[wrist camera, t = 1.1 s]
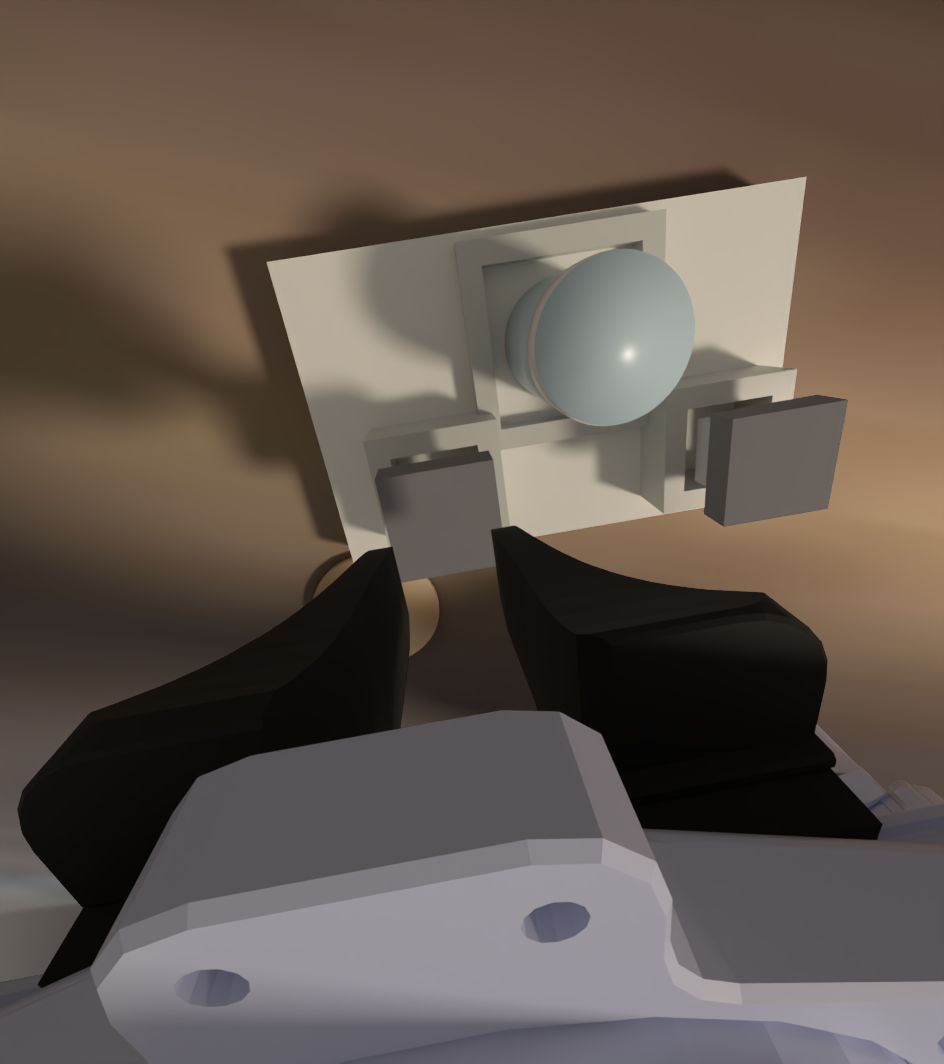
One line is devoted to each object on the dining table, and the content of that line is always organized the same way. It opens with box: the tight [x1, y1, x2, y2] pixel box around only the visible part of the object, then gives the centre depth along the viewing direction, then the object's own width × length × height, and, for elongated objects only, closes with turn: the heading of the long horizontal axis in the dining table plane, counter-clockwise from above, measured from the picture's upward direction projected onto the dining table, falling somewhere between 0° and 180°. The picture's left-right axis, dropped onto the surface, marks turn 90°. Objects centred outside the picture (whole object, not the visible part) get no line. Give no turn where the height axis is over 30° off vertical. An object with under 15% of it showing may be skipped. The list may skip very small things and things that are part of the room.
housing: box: [267, 177, 806, 563], centre depth 18 cm, size 12×19×4 cm, turn 98°
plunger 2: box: [694, 395, 848, 527], centre depth 16 cm, size 4×4×3 cm
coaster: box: [313, 557, 439, 656], centre depth 23 cm, size 6×6×1 cm
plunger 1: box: [375, 451, 502, 583], centre depth 16 cm, size 4×4×3 cm
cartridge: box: [505, 249, 695, 426], centre depth 15 cm, size 4×4×6 cm
